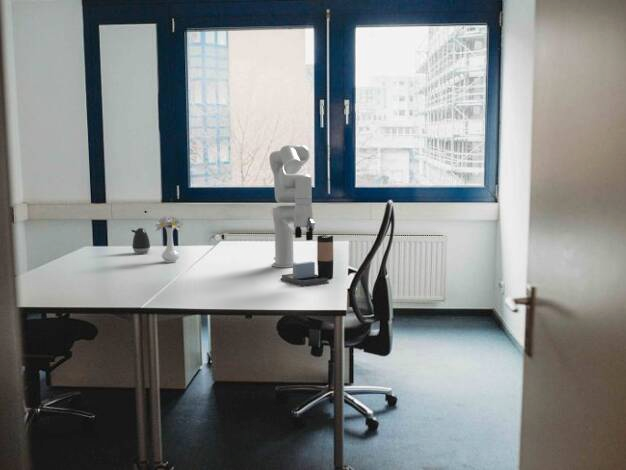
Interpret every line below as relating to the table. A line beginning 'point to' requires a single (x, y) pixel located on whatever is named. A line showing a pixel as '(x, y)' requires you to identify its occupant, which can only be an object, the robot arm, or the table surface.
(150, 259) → the table surface
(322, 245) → the travel mug
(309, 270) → the panel
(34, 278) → the table surface
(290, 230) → the robot arm
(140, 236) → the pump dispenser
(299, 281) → the rack
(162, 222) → the flower vase
